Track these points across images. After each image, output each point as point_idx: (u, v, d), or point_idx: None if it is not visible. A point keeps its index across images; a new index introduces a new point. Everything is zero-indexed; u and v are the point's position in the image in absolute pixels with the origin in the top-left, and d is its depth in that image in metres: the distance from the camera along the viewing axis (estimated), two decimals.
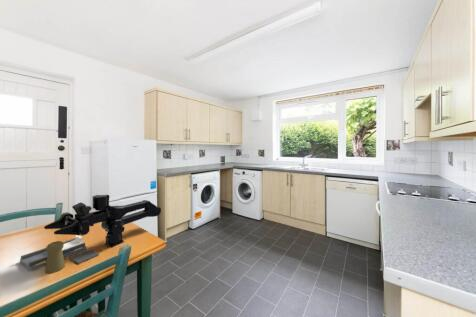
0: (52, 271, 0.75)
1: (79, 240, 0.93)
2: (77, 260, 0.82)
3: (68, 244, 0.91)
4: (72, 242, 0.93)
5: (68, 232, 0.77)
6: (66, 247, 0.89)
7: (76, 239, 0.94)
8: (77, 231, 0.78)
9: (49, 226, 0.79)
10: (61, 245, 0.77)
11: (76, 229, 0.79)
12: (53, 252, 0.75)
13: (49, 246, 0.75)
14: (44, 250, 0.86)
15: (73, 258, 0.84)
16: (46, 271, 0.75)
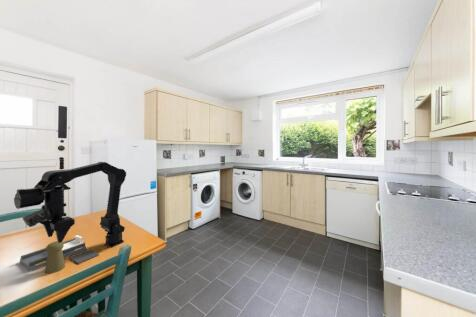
0: (52, 271, 0.75)
1: (79, 240, 0.93)
2: (77, 260, 0.82)
3: (68, 244, 0.91)
4: (72, 242, 0.93)
5: (64, 232, 0.75)
6: (66, 247, 0.89)
7: (76, 239, 0.94)
8: None
9: (50, 233, 0.79)
10: (61, 245, 0.77)
11: None
12: (53, 252, 0.75)
13: (49, 246, 0.75)
14: (44, 250, 0.86)
15: (73, 258, 0.84)
16: (46, 271, 0.75)
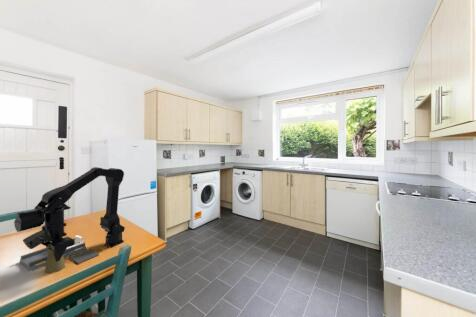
0: (52, 271, 0.75)
1: (79, 240, 0.93)
2: (77, 260, 0.82)
3: None
4: None
5: (62, 251, 0.76)
6: None
7: (76, 239, 0.94)
8: None
9: None
10: None
11: None
12: (53, 252, 0.75)
13: (49, 246, 0.75)
14: (44, 250, 0.86)
15: (73, 258, 0.84)
16: (46, 271, 0.75)
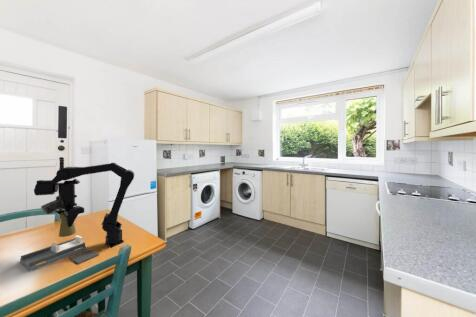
0: (65, 235, 0.87)
1: (79, 240, 0.93)
2: (77, 260, 0.82)
3: (68, 244, 0.91)
4: (72, 242, 0.93)
5: (73, 218, 0.89)
6: (66, 247, 0.89)
7: (76, 239, 0.94)
8: None
9: None
10: None
11: None
12: (66, 219, 0.88)
13: (62, 213, 0.87)
14: (44, 250, 0.86)
15: (73, 258, 0.84)
16: (60, 235, 0.87)
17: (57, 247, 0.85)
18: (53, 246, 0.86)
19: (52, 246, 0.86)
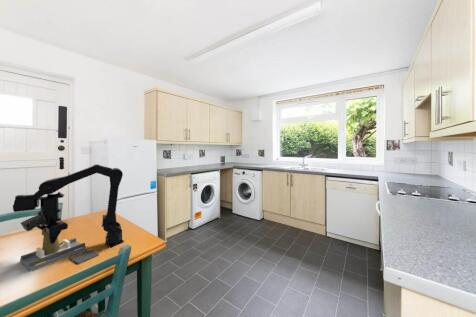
0: (48, 252, 0.83)
1: (67, 244, 0.89)
2: (77, 260, 0.82)
3: None
4: None
5: (56, 234, 0.84)
6: None
7: (64, 243, 0.90)
8: None
9: None
10: None
11: None
12: (48, 236, 0.83)
13: (44, 230, 0.82)
14: None
15: (73, 258, 0.84)
16: None
17: (42, 252, 0.81)
18: (38, 251, 0.82)
19: (37, 251, 0.82)
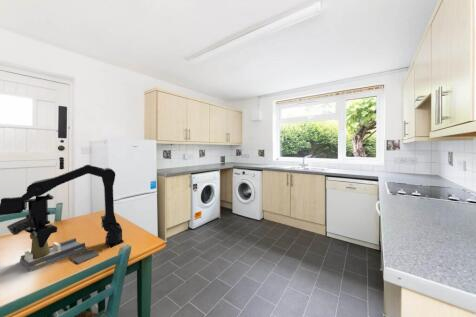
0: (37, 256, 0.79)
1: (57, 248, 0.86)
2: (77, 260, 0.82)
3: None
4: None
5: (45, 238, 0.81)
6: None
7: (54, 246, 0.87)
8: None
9: None
10: None
11: None
12: None
13: (32, 233, 0.79)
14: None
15: (73, 258, 0.84)
16: None
17: (30, 256, 0.78)
18: (26, 255, 0.79)
19: (25, 255, 0.79)
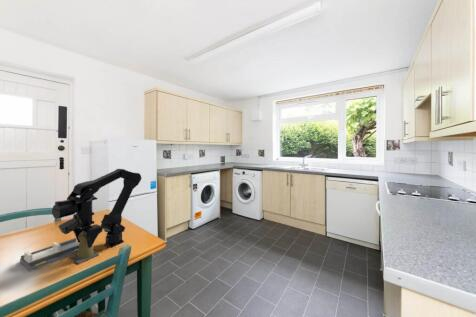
0: (83, 257, 0.84)
1: (57, 248, 0.86)
2: (77, 260, 0.82)
3: (44, 252, 0.84)
4: (49, 250, 0.86)
5: (94, 238, 0.84)
6: (41, 256, 0.81)
7: (54, 247, 0.87)
8: None
9: None
10: None
11: None
12: (84, 240, 0.84)
13: (81, 235, 0.84)
14: None
15: (73, 258, 0.84)
16: (78, 257, 0.84)
17: (30, 256, 0.78)
18: (26, 255, 0.78)
19: (25, 255, 0.79)
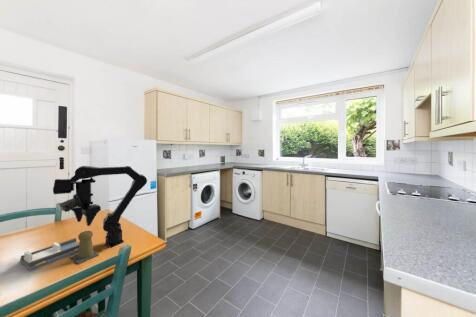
0: (83, 257, 0.84)
1: (57, 248, 0.86)
2: (77, 260, 0.82)
3: (44, 252, 0.84)
4: (49, 250, 0.86)
5: (92, 217, 0.90)
6: (41, 256, 0.81)
7: (54, 247, 0.87)
8: None
9: (79, 218, 0.94)
10: (91, 234, 0.86)
11: None
12: (84, 240, 0.84)
13: (81, 235, 0.84)
14: None
15: (73, 258, 0.84)
16: (78, 257, 0.84)
17: (30, 256, 0.78)
18: (26, 255, 0.78)
19: (25, 255, 0.79)
